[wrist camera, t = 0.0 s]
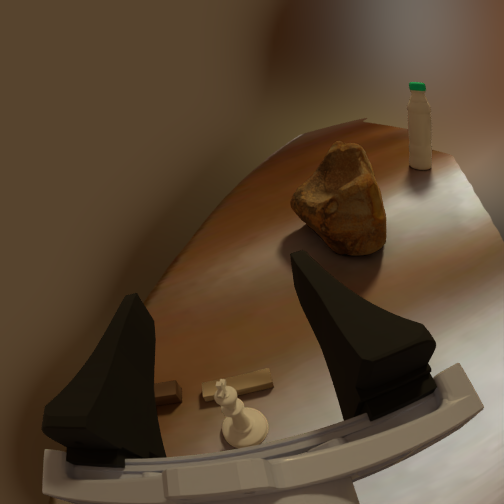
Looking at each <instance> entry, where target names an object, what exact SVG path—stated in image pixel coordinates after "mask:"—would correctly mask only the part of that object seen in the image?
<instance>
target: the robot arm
mask: <svg viewBox="0 0 504 504" xmlns="http://www.w3.org/2000/svg"><path fill="white" fill-rule="evenodd" d="M290 256H291V264H292V272H293V280H294V287H295V290H296V293H297V295H298V298H299V301H300V304H301V306H302V309H303V311H304V313H305V315H306V317H307V319H308V321H309V323H310V325H311V327H312V329H313V331H314V334H315V336H316V338H317V340H318V342H319V344H320V347H321V349H322V352H323V355H324V357H325V360H326V363H327V366H328V369H329V372H330V375H331V378H332V382H333V385H334V388H335V391H336V395H337V398H338V401H339V405H340V408H341V412H342V416H343V419H344V421H342V422H339V423H336V424H333V425H330V426H327V427H324V428H321V429H318V430H314V431H311V432H308V433H304V434H300V435H297V436H293V437H289V438H285V439H281V440H277V441H273V442H269V443H264V444H259V445H255V446H250V447H245V448H239V449H233V450H227V451H221V452H214V453H207V454H199V455H190V456H180V457H166V454H165V450H164V446H163V442H162V438H161V433H160V428H159V423H158V416H157V410H156V402H155V392H154V365H155V341H156V339H155V326H154V320H153V318H152V317H151V315H150V314H149V312H148V310H147V309H146V307H145V306H144V304H143V303H142V301H141V299H140V298H139V296H138V294H137V293H135V294H131V295H126V296H125V297H124V299H123V301H122V303H121V304H120V306H119V308H118V310H117V312H116V314H115V315H114V317H113V319H112V321H111V323H110V324H109V326H108V328H107V330H106V332H105V333H104V335H103V337H102V338H101V340H100V342H99V343H98V345H97V347H96V349H95V350H94V352H93V353H92V355H91V356H90V357H89V359H88V361H87V362H86V363H85V365H84V366H83V367H82V368H81V370H80V371H79V372H78V373H77V375H76V376H75V377H74V378H73V380H72V381H71V382H70V383H69V384H68V385H67V386H66V387H65V388H64V389H63V390H62V391H61V392H60V394H58V395H57V396H56V397H55V398H54V399H53V400H52V401H51V402H50V403H48V404H47V405H46V406H45V409H44V415H43V422H42V431H43V433H44V434H45V435H47V436H48V437H49V438H51V439H53V440H54V441H57V442H58V443H60V444H62V445H64V446H65V447H67V453H66V452H63V451H57V450H48V449H46V450H45V453H44V466H43V467H44V468H43V491H42V492H43V494H45V495H48V496H51V497H54V498H57V499H61V500H64V501H67V502H71V503H74V504H360V503H359V500H358V497H357V494H356V491H355V488H354V485H353V482H355V481H357V480H360V479H362V478H365V477H367V476H370V475H372V474H375V473H377V472H379V471H382V470H384V469H386V468H388V467H390V466H393V465H395V464H397V463H399V462H401V461H403V460H405V459H407V458H409V457H411V456H413V455H415V454H417V453H419V452H420V451H422V450H424V449H426V448H428V447H430V446H431V445H433V444H435V443H437V442H438V441H440V440H442V439H444V438H445V437H447V436H449V435H450V434H452V433H453V432H455V431H457V430H458V429H460V428H461V427H463V426H464V425H465V424H466V423H467V422H469V421H470V420H471V419H472V418H473V417H475V416H476V415H477V414H478V413H479V412H480V411H482V410H483V408H484V406H483V404H482V402H481V400H480V398H479V396H478V395H477V393H476V391H475V389H474V387H473V386H472V384H471V382H470V380H469V379H468V377H467V375H466V373H465V372H464V370H463V368H462V367H461V365H460V363H456V364H455V365H453V366H451V367H449V368H448V369H446V370H444V371H442V372H440V373H439V374H437V375H436V376H435V377H434V378H432V376H431V374H430V372H431V367H430V366H429V364H428V362H429V360H430V358H431V356H432V355H433V353H434V350H435V348H436V342H435V340H434V339H433V337H432V335H431V334H430V333H429V331H428V330H427V329H426V328H425V326H424V325H423V324H421V323H418V322H414V321H411V320H408V319H405V318H402V317H400V316H397V315H395V314H393V313H390V312H388V311H386V310H384V309H382V308H380V307H378V306H376V305H374V304H372V303H370V302H369V301H367V300H365V299H363V298H362V297H360V296H359V295H357V294H356V293H354V292H353V291H351V290H350V289H348V288H347V287H346V286H344V285H343V284H342V283H340V282H339V281H338V280H336V279H335V278H334V277H333V276H332V275H330V274H329V273H328V272H327V271H326V270H324V269H323V268H322V267H321V266H320V265H319V264H318V263H317V262H316V261H315V260H314V259H313V258H312V257H311V256H310V255H309V254H308V253H307V252H306V251H304V250H302V251H298V252H294V253H291V254H290ZM305 452H307V453H305ZM302 453H304V454H302ZM298 454H299V455H298Z"/></svg>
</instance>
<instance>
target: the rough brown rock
mask: <svg viewBox="0 0 504 504" xmlns="http://www.w3.org/2000/svg"><path fill="white" fill-rule="evenodd" d="M290 203H291V208H292V209H293V211H294V212H295V213H296V214H297V215H298V216H299V218H300V219H301V220H302V221H303V222H305V223H306V224H307V225H308V226H309V227H310V228H312V229H313V230H314V231H315V232H316V233H317V234H318V235H320V237H321V238H322V239H323V241H324V242H325V243H326V244H327V245H328V246H329V247H330V248H331V249H332V250H333V251H334V252H336V253H338V254H340V255H343V254H349V255H351V256H355V255H368V254H372V253H374V252H376V251H377V250H379V249H381V247H382V246H383V245H384V244H385V243H386V214H385V209H384V206H383V201H382V196H381V191H380V188H379V186H378V185H377V183H376V180H375V175H374V172H373V169H372V166H371V164H370V162H369V160H368V157H367V155H366V153H365V150H364V149H363V148H362V147H361V146H360V145H358V144H355V143H348V144H345V143H343V142H340V141H337V142H335V143H334V144H333V145H332V147H331V148H330V150H329V151H328V153H327V154H326V156H325V158H324V160H323V161H322V162H321V164H320V165H319V167H318V169H317V170H316V172H315V173H314V174H313V176H312V177H310V178H309V179H308V180H307V181H306V182H305V183H303V184H302V185H300V186H299V187H298V189H297V190H296V192H295V193H294V194H293V196H292V199H291V202H290Z"/></svg>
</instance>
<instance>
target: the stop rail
mask: <svg viewBox="0 0 504 504" xmlns="http://www.w3.org/2000/svg"><path fill="white" fill-rule="evenodd" d="M154 392H155V402H156V406H158V405H166V404H173V403H180V402H182V388H181V387H180V386H179V384H178V383H177V382H176V380H175V381H169V382H162V383H156V384H154Z"/></svg>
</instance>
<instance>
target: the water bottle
mask: <svg viewBox="0 0 504 504" xmlns="http://www.w3.org/2000/svg"><path fill="white" fill-rule="evenodd" d="M409 88H410V91H411V93H412V94H411V97H410V99H409V100H410V101H409V102H408V105H407V110H408V131H409V141H410V142H409V153H410V155H409V165H410V166H411V167H412V168H414V169H417V170H428V169H430V168H431V166H432V158H431V154H432V146H431V140H432V125H431V114H430V113H431V107H430V105H429V103H428V101H427V99H426V97H425V90H426V87H425V84H424V83H418V82H410V83H409Z"/></svg>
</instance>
